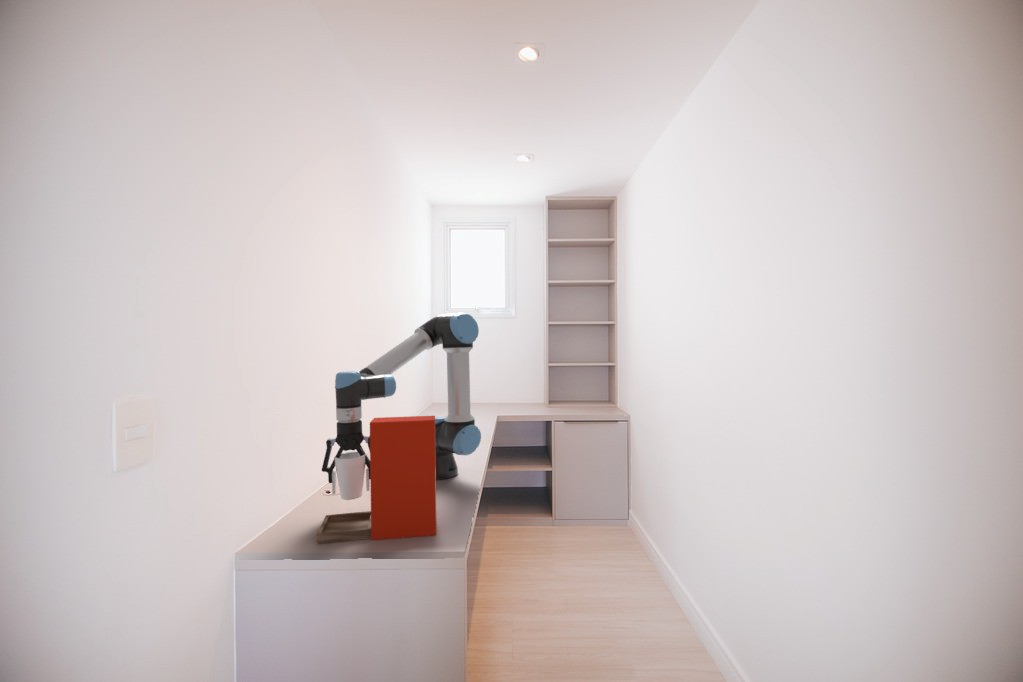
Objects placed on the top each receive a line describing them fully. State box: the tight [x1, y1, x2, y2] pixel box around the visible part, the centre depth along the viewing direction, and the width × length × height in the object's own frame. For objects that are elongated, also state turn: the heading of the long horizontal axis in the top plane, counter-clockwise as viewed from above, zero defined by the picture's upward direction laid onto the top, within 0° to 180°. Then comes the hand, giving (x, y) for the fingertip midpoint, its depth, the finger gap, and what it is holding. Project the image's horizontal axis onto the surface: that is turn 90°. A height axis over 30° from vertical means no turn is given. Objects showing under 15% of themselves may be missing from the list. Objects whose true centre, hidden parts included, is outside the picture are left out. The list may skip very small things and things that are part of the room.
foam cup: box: [333, 451, 367, 501], centre depth 141 cm, size 10×9×13 cm
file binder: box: [369, 415, 438, 541], centre depth 126 cm, size 8×17×32 cm, turn 98°
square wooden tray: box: [315, 510, 371, 545], centre depth 128 cm, size 14×14×2 cm
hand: (351, 491), depth 141 cm, fingers closed on foam cup, 9 cm apart
